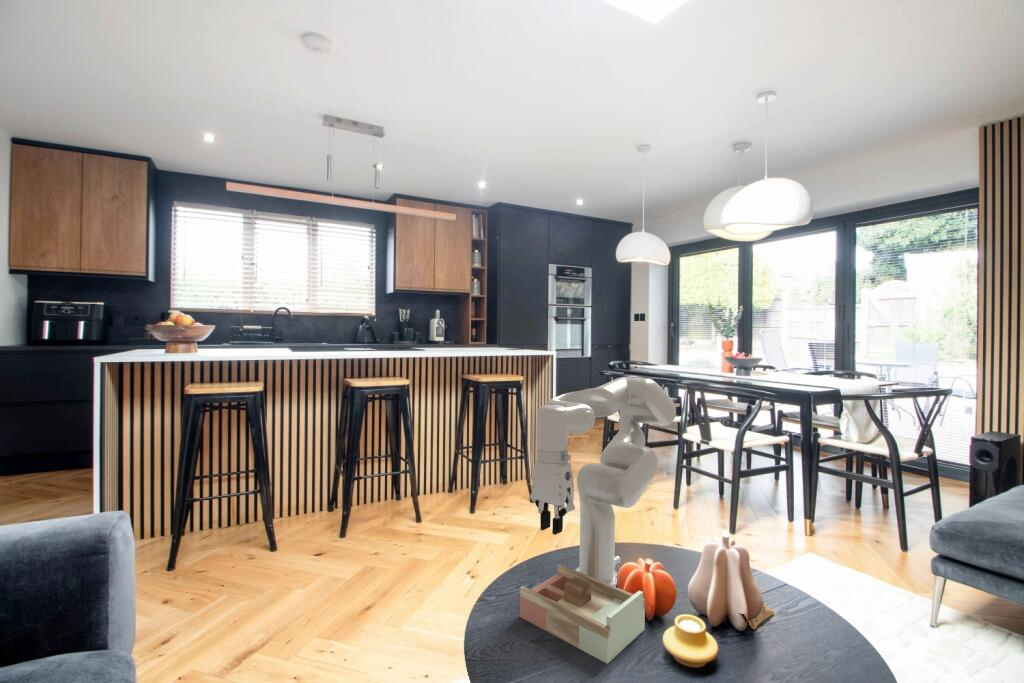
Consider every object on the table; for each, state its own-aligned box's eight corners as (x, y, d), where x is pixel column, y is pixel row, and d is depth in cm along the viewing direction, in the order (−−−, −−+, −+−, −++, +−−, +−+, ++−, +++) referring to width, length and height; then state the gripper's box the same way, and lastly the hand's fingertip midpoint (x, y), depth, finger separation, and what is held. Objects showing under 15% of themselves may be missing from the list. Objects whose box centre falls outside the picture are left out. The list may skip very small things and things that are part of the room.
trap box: (560, 591, 126) (560, 556, 126) (644, 629, 110) (645, 590, 110) (519, 616, 114) (520, 578, 114) (607, 663, 98) (608, 620, 98)
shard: (753, 633, 110) (753, 625, 110) (721, 617, 116) (721, 609, 116) (775, 616, 116) (775, 609, 116) (744, 602, 122) (744, 595, 122)
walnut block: (575, 592, 116) (575, 576, 116) (591, 599, 113) (591, 582, 113) (564, 600, 112) (564, 583, 112) (580, 607, 109) (580, 590, 109)
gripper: (588, 459, 115) (588, 535, 115) (536, 448, 126) (535, 518, 126) (570, 465, 109) (569, 545, 110) (517, 453, 121) (516, 526, 121)
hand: (551, 530), depth 118 cm, fingers open, 3 cm apart
